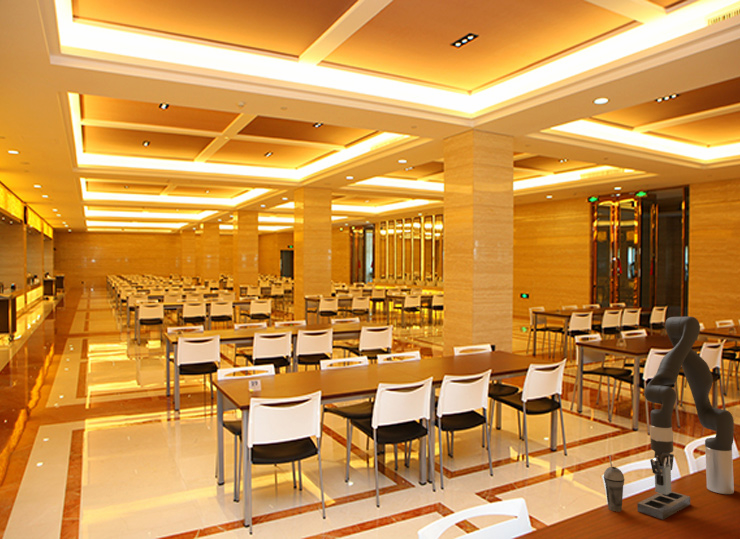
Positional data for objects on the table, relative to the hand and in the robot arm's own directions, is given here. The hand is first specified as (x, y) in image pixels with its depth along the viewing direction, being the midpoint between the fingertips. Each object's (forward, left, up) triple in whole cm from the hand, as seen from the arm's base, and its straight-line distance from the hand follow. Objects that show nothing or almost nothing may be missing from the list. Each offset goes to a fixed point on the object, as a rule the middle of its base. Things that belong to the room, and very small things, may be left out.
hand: (663, 483), depth 193 cm
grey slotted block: (0, 0, -9) cm, 9 cm away
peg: (0, 0, -3) cm, 3 cm away
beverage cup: (+16, -10, -9) cm, 21 cm away
